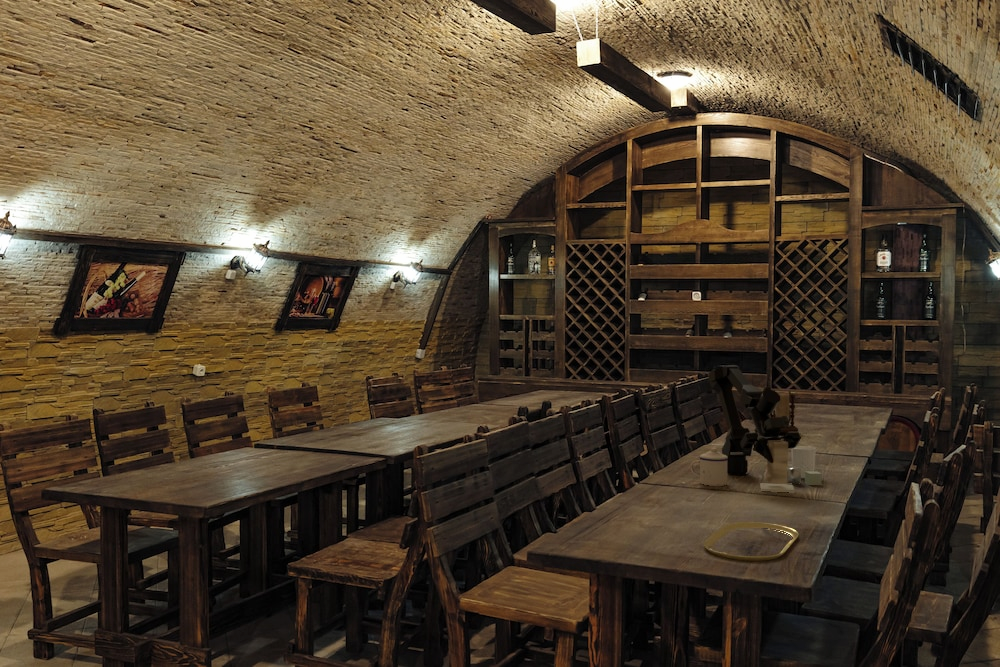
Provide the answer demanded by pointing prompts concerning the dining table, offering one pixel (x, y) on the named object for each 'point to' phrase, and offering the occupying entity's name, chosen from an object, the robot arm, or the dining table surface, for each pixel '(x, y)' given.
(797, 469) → the grey cylinder
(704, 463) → the teacup with lid
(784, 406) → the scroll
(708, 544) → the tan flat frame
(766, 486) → the tile
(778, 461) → the oak block
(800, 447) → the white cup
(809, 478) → the sage cube
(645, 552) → the dining table surface
